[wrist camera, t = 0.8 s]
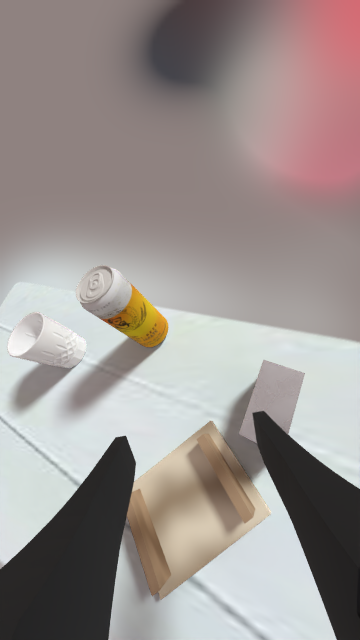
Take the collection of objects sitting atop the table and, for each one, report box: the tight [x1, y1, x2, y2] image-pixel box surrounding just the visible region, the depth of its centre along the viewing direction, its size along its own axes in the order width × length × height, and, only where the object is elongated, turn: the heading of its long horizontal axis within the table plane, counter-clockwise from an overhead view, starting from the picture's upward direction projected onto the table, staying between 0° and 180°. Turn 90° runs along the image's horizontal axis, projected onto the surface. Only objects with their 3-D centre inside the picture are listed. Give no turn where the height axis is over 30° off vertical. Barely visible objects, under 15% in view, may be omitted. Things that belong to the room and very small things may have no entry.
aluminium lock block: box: [239, 360, 305, 443], centre depth 23 cm, size 4×8×6 cm, turn 152°
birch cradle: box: [127, 421, 271, 599], centre depth 23 cm, size 10×14×4 cm
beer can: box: [76, 265, 168, 347], centre depth 31 cm, size 6×6×15 cm
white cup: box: [7, 312, 87, 368], centre depth 38 cm, size 8×8×10 cm
